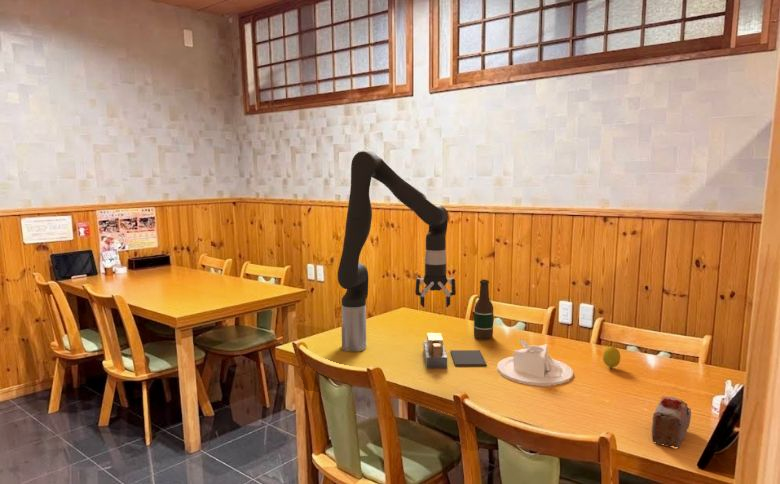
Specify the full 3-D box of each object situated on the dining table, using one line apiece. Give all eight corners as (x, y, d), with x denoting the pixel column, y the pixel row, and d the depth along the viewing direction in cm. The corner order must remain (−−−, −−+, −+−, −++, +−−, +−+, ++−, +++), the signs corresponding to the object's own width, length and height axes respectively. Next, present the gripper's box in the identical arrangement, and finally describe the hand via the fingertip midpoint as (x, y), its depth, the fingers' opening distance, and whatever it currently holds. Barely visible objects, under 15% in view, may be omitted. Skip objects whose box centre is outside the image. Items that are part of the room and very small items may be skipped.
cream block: (428, 352, 185) (428, 340, 184) (427, 344, 193) (427, 333, 192) (442, 352, 185) (443, 340, 184) (440, 344, 193) (440, 333, 192)
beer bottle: (494, 340, 210) (495, 282, 206) (475, 340, 210) (476, 282, 206) (491, 334, 217) (492, 278, 214) (472, 334, 217) (473, 278, 214)
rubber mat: (455, 366, 182) (455, 364, 182) (450, 352, 196) (450, 350, 196) (486, 366, 182) (486, 363, 182) (479, 352, 196) (479, 350, 196)
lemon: (619, 366, 181) (621, 344, 180) (619, 372, 176) (620, 349, 175) (602, 364, 183) (603, 342, 182) (601, 369, 178) (603, 347, 177)
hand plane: (447, 368, 180) (447, 346, 179) (426, 368, 180) (427, 346, 179) (441, 350, 198) (442, 330, 197) (423, 350, 198) (423, 330, 197)
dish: (552, 393, 161) (554, 358, 159) (483, 372, 177) (483, 340, 176) (585, 371, 178) (586, 339, 177) (519, 353, 195) (520, 324, 194)
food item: (656, 421, 142) (659, 387, 141) (690, 429, 138) (693, 394, 136) (648, 443, 131) (651, 405, 130) (685, 452, 126) (688, 414, 125)
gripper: (416, 264, 181) (415, 309, 183) (457, 263, 181) (456, 309, 183) (414, 260, 188) (414, 304, 190) (454, 260, 188) (453, 303, 190)
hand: (435, 306), depth 187 cm, fingers open, 8 cm apart
